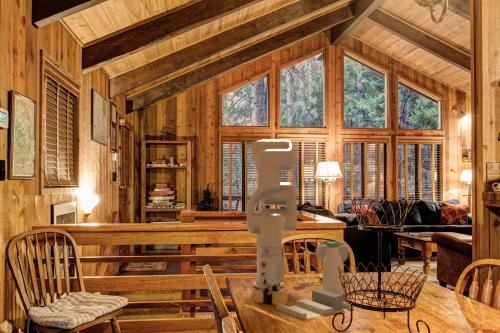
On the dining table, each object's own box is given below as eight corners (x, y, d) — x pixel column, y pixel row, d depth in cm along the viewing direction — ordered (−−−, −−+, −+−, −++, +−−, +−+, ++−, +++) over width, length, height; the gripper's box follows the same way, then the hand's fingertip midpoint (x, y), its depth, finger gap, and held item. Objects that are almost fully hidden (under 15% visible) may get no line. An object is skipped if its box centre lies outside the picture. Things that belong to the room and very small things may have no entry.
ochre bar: (254, 304, 165) (254, 291, 165) (260, 301, 168) (260, 288, 168) (282, 308, 159) (281, 295, 159) (287, 306, 162) (287, 292, 162)
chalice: (352, 276, 211) (352, 243, 211) (342, 282, 199) (342, 247, 199) (323, 273, 218) (323, 241, 218) (311, 279, 206) (311, 244, 206)
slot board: (276, 311, 155) (276, 303, 155) (324, 302, 166) (324, 295, 166) (302, 322, 143) (302, 314, 143) (353, 312, 154) (352, 304, 154)
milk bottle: (343, 298, 172) (343, 243, 172) (322, 297, 173) (322, 243, 174) (343, 293, 179) (343, 241, 180) (323, 292, 181) (323, 240, 181)
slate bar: (311, 303, 161) (311, 290, 161) (320, 302, 163) (320, 289, 163) (333, 311, 152) (333, 297, 152) (343, 309, 154) (342, 295, 154)
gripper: (267, 255, 155) (268, 311, 155) (291, 249, 169) (291, 300, 169) (248, 253, 159) (249, 308, 159) (273, 247, 173) (273, 297, 173)
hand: (271, 303), depth 164 cm, fingers closed on ochre bar, 4 cm apart
